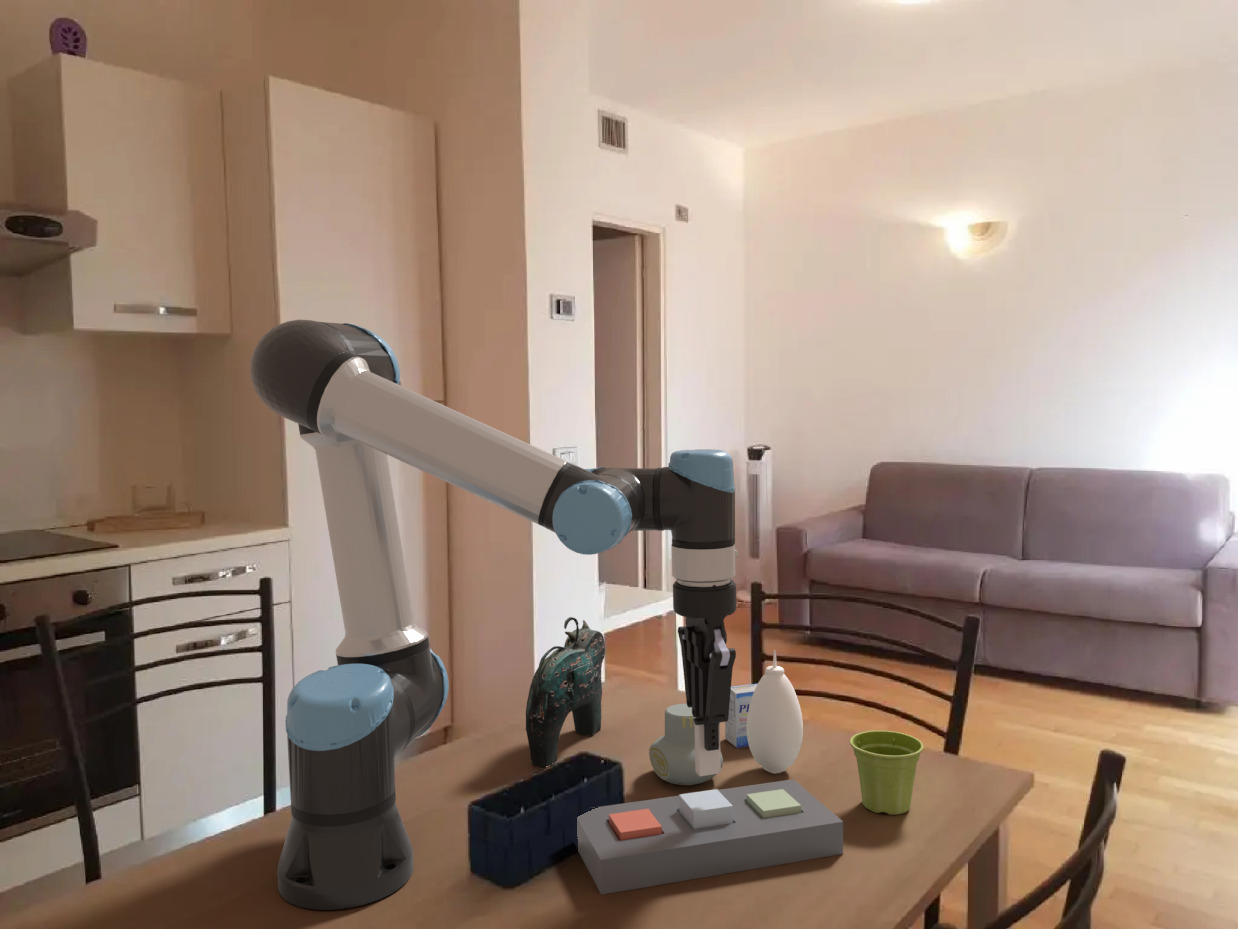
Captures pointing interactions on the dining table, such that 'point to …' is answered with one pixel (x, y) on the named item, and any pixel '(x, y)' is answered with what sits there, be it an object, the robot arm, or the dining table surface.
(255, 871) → the dining table surface
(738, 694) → the medicine box
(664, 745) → the air freshener
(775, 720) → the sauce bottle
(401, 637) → the robot arm
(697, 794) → the white button
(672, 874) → the button panel
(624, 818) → the red button
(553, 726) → the dark green metal figure
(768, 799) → the green button
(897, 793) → the plant pot
